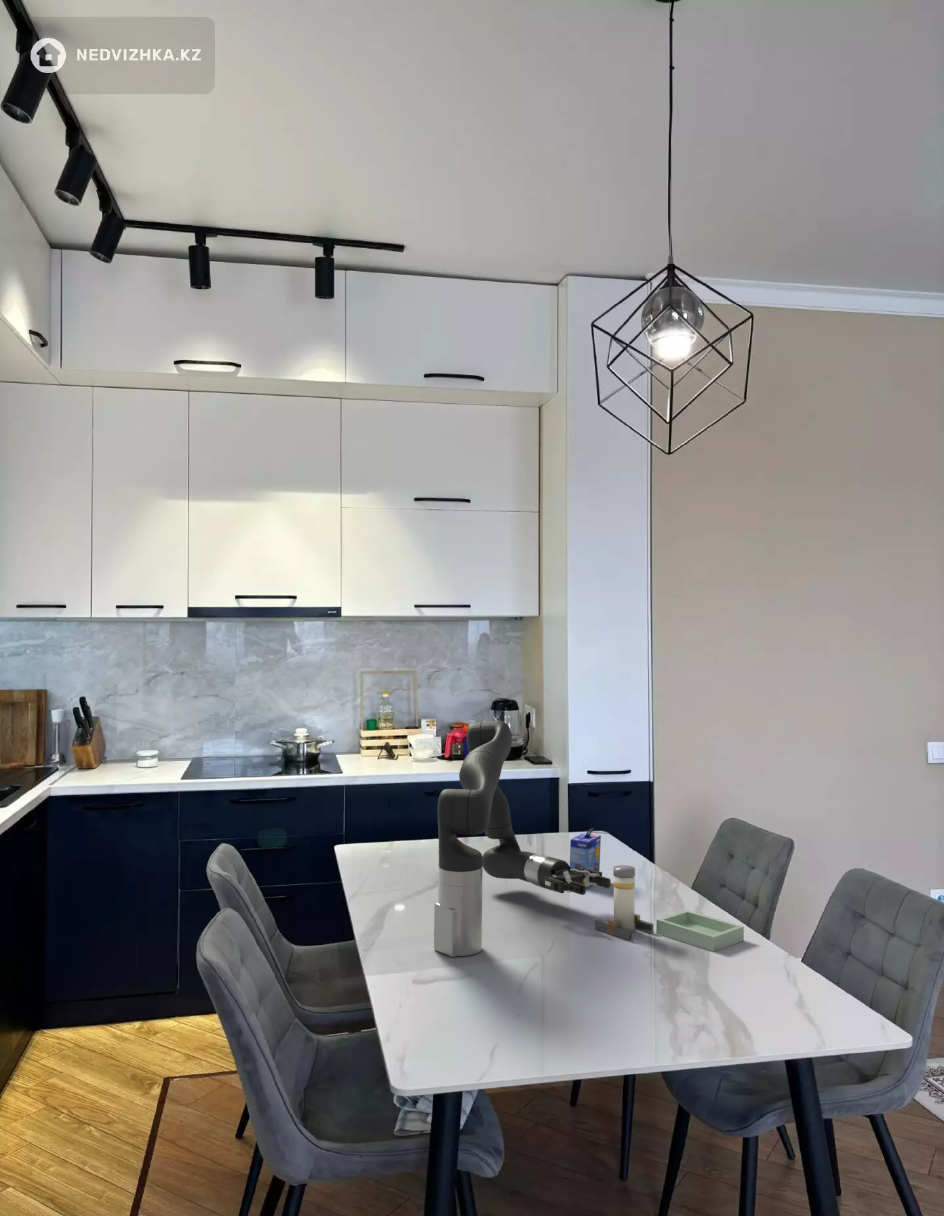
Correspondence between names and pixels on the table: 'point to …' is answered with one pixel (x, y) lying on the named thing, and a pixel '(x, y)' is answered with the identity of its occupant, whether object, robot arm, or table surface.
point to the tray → (700, 930)
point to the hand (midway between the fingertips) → (597, 887)
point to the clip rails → (616, 930)
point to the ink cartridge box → (585, 852)
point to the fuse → (624, 896)
